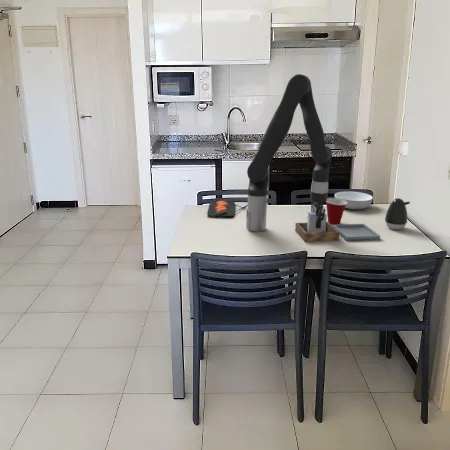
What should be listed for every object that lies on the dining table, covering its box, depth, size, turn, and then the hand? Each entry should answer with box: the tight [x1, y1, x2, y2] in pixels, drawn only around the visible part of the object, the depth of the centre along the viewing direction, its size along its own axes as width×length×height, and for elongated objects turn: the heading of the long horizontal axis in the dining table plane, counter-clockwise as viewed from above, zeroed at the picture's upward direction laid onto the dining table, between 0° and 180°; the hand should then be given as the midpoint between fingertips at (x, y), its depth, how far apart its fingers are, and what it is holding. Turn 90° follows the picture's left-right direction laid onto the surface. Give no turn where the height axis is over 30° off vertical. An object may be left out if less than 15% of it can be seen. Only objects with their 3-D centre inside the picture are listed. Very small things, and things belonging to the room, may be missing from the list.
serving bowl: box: [334, 191, 374, 210], centre depth 263 cm, size 21×21×7 cm
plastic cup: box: [325, 197, 347, 226], centre depth 233 cm, size 11×11×12 cm
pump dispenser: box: [384, 197, 411, 231], centre depth 225 cm, size 10×10×15 cm
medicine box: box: [307, 211, 328, 233], centre depth 215 cm, size 8×4×9 cm, turn 92°
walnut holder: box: [294, 221, 340, 243], centre depth 216 cm, size 16×16×4 cm
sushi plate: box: [206, 200, 248, 218], centre depth 255 cm, size 29×30×4 cm
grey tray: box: [332, 223, 381, 242], centre depth 219 cm, size 16×18×2 cm
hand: (316, 226), depth 215 cm, fingers closed on medicine box, 4 cm apart
